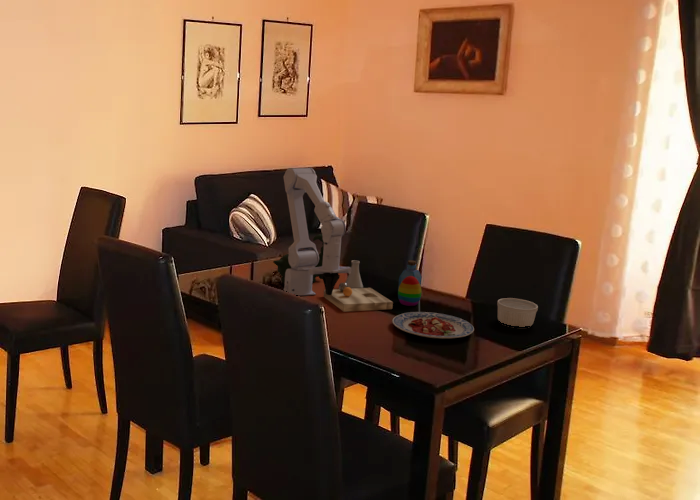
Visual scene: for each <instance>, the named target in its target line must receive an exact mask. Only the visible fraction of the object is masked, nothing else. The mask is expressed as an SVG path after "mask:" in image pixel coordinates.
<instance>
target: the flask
mask: <svg viewBox="0 0 700 500" xmlns="http://www.w3.org/2000/svg"><path fill="white" fill-rule="evenodd" d="M350 262H351V266H350V268H351V273H350V274H348V275H347V278H346V280H345V282H344V283H346V284H347V285H348V287H350V288H351V289H354V288H364V285H363V282H362V281H363V280H362V278H361V274H360V263H361V262H360V260H355V259H354V260H351V261H350Z"/></svg>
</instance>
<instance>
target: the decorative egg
mask: <svg viewBox="0 0 700 500" xmlns="http://www.w3.org/2000/svg"><path fill="white" fill-rule="evenodd" d="M398 286H399V285H398ZM421 286H422V285H421ZM421 286H420V283H419V282H418V280H417V279H416V278H415V277H413V276H408V277H406V278H405V279H404V280H403V281H402V282H401V284H400V286H399V289H398V288H397V298H398V300H399V303H400V304H401V305H403V306H408V307H414V306H417V305H418V304H419V302H420V300H421V297H422V287H421Z"/></svg>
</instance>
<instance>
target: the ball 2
mask: <svg viewBox="0 0 700 500" xmlns="http://www.w3.org/2000/svg"><path fill="white" fill-rule="evenodd" d="M343 294H344V295H345V296H350V295H351V294H352V289H351V288H350V287H346V288H344V290H343Z"/></svg>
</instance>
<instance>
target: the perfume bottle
mask: <svg viewBox="0 0 700 500" xmlns="http://www.w3.org/2000/svg"><path fill="white" fill-rule="evenodd" d="M406 267H407V268H405V269H404V270H402V272H401V274H400V275H399V277H398V287H397V290H398V289H399V286H400V284H401V282H402V281H403V280H404V279H405V278H406V277H408V276H413V277H415V278H416V279H417V280H418V282H419V283H420V286H422V285H421V284H422V275H421V273H420V271H419V269H416V268H417V261H416V260H413V259H412V260H411V259H409V260H407V263H406Z"/></svg>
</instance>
